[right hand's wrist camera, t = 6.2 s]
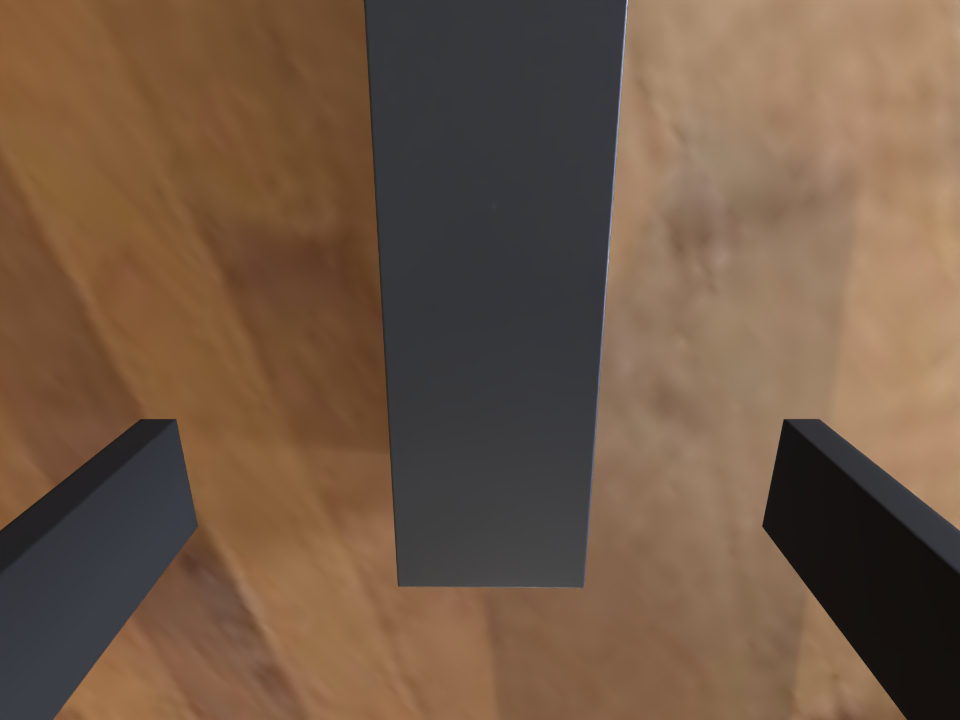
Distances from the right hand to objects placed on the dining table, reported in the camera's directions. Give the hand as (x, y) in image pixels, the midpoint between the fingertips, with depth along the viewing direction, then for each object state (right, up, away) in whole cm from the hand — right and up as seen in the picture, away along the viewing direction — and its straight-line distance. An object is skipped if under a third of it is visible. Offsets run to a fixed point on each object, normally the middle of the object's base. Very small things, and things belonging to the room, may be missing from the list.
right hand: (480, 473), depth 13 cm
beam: (0, +13, +4) cm, 14 cm away
